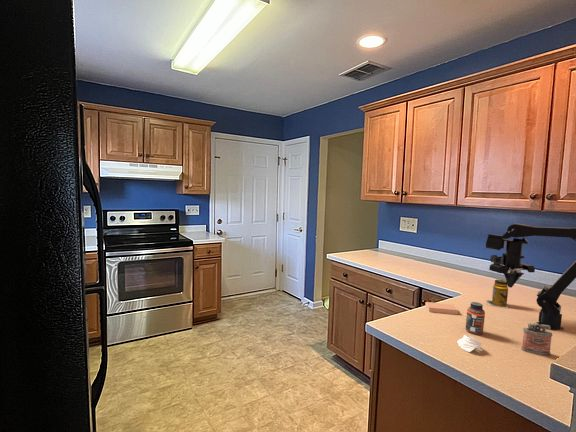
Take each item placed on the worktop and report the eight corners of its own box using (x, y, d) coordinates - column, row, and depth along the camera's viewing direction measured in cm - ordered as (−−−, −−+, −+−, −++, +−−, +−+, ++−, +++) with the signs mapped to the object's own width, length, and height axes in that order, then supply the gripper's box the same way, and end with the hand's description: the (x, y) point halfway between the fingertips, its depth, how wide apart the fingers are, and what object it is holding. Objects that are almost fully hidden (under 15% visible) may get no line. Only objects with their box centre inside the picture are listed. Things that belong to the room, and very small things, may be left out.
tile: (453, 304, 147) (425, 301, 149) (458, 310, 140) (429, 307, 142) (452, 309, 147) (425, 307, 149) (457, 315, 140) (428, 312, 142)
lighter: (523, 351, 109) (525, 323, 108) (519, 347, 112) (522, 319, 111) (551, 356, 106) (555, 328, 105) (547, 352, 109) (550, 324, 108)
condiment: (508, 308, 149) (510, 283, 148) (487, 304, 154) (489, 280, 152) (506, 303, 156) (508, 280, 155) (486, 300, 160) (488, 277, 159)
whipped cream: (452, 346, 113) (452, 333, 113) (467, 342, 115) (466, 329, 115) (472, 356, 105) (471, 342, 105) (487, 352, 107) (486, 338, 107)
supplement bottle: (476, 336, 119) (478, 307, 118) (461, 329, 125) (464, 301, 124) (486, 333, 122) (489, 305, 121) (472, 327, 127) (474, 300, 126)
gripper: (513, 248, 147) (510, 281, 149) (480, 248, 143) (477, 282, 145) (537, 253, 137) (533, 288, 138) (502, 254, 132) (498, 290, 134)
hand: (509, 287), depth 139 cm, fingers closed
